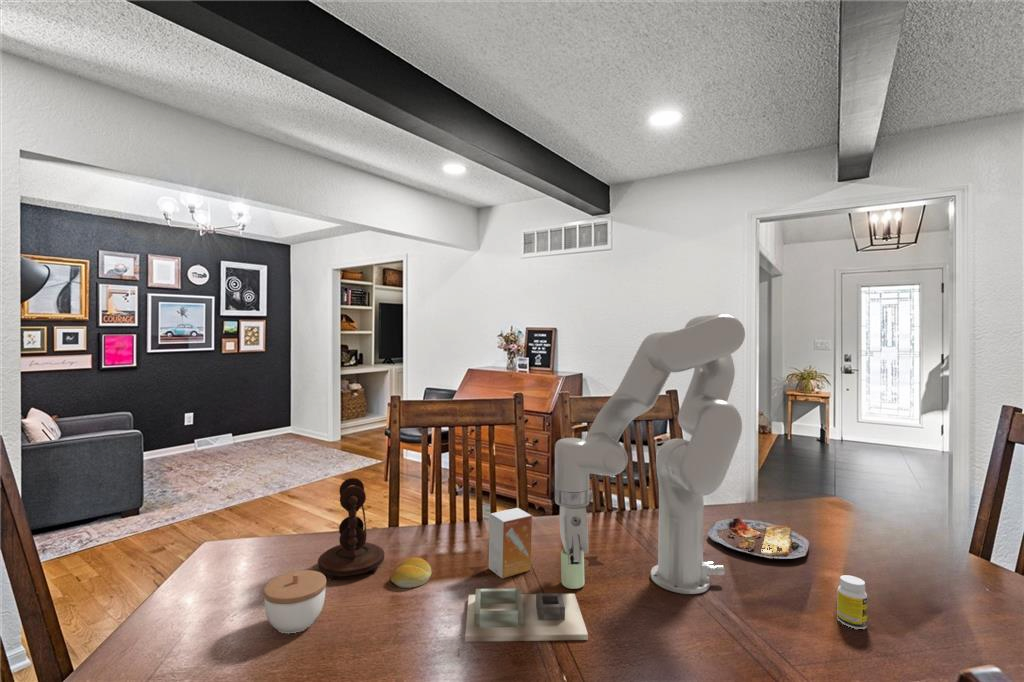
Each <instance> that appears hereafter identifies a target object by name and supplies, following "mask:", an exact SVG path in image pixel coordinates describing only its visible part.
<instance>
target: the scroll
mask: <svg viewBox="0 0 1024 682" xmlns="http://www.w3.org/2000/svg"><path fill="white" fill-rule="evenodd" d="M338 493H339V495H340V496H339V503H340V506H341V507H342V508H343V509H344V510H345V511H346V512H347V513H348V516H346V517H345V518H344V519H343V520H341V522H340V523H339V527H338V532H339V539H338V540H339V544H338V545H335V546H333V547H331V548H329V549H327V550H326V551H324V552H322V554H321V555H320V556H319V557H318V560H317V567H318V570H319V572H321V573H322V574H325V575H327V578H328V580H329V579H331V578H333V576H334V577H335V576H336V577H337V576H338V577H347V576H349V577H350V576H356V575H359V574H360V575H361V574H364V573H367V572H370V571H371V573H372V574H376V572H377V569H378V567H379V566H381V564H382V563H383V562H384V560H385V551H384V548H382V547H381V546H379V545H377V544H375V543H371V542H367V523H366V513H365V507H364V504H365V502H366V499H367V496H366V491H365V484H364V483H363V482H362V480H360V479H359V478H356V477H351V478H347V479H345V480H344V481H343V482H342V483H341V484H340V486H339V492H338ZM360 509H362V517H363V520H362V519H361V518H360V517H358V516H357V513H358V511H359V510H360ZM331 580H332V579H331Z"/></svg>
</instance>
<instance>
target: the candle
mask: <svg viewBox="0 0 1024 682" xmlns="http://www.w3.org/2000/svg"><path fill="white" fill-rule="evenodd" d="M571 556H573V553H571V554H569V565H568V554H567V552H566V551H565V549H564V548H563V549H562V550H561V551H560V570H561V571H560V572H561V573H560V575H561V585H562V586H564V587H565V588H567V589H572V590H574V589H576V590H577V589H581V588H582V587H583V586H585V584H586V583H585V557H584V556H585V553H583V550H582V548H581V565H579V563H578V564H572V565H571V560H570V557H571Z"/></svg>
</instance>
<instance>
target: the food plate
mask: <svg viewBox="0 0 1024 682" xmlns="http://www.w3.org/2000/svg"><path fill="white" fill-rule="evenodd" d="M725 528H726V529H727V530H728V529H730V530H729V531H728V532H729V533H730V535H733V536H739V537H744V538H743V539H742V541H740V542H739V543H738V542H737V544H736V546H740V547H742V548H745V549H748V550H752V549H753V550H754V549H755V547H756V546H755V541H754V540H752V539H749V538H747V537H756V536H759V535H765V536H764V541H763V542H762V544H763V545H762V548H765V549H761V554H760V553H755V552H752V551H753V550H752V551H751V552H748V551H746V550H745V551H744V550H742V549H740V548H736V547H735V546H733V545H731V544H729V543H728V542H727V543H726V542H725V541H726V540H725V541H724V540H723V539H722V538H719V536H717V535H718V534H717V532H721V530H722V529H725ZM752 528H756V529H762V530H764V531H766V533H765V534H764V533H763V532H762V533H760V532H758V531H756V530H753V529H752ZM722 533H723V532H722ZM707 535H708V537H709V538H710V540H712V541H714V542H716V543H719V544H722V545H723V546H725V547H727V548H730V549H732V550H735V551H738V552H742V553H746V554H749V555H751V556H758V557H764V558H767V559H773V558H774V559H773V560H775V559H776V560H782V559H783V560H784V559H785V560H787V559H797V558H801V557H805V556H806V555H807V553H808V551H809V550H808V549H809V546H810V541H809V540H808V539H807V538H805V537H804V536H803V535H801V534H799V533H797V532H796V531H795V530H792V528H791V526H790V525H787V524H786V525H779V524H778V525H777V524H773V523H769V522H766V521H763V520H757V519H750V518H749V519H748V518H747V519H746V518H740V517H736V518H728V519H721V520H719V521H715V522H714V523H713V525H711V527H710V528H709V530H708V531H707ZM721 535H722V534H721ZM730 535H729V536H730ZM791 539H792V540H791ZM791 542H793V543H792V544H791ZM768 545H770V546H768ZM754 546H755V547H754ZM789 546H791V547H789ZM769 547H770V548H772V549H770V550H769ZM777 547H779V548H782V551H780V552H779V551H777ZM767 548H768V550H767ZM789 548H792V549H793V551H792V553H789V550H790V549H789ZM762 550H763V551H762ZM772 551H773V552H772ZM762 554H763V555H762ZM767 555H769V556H767ZM772 556H774V557H772ZM778 558H779V559H778Z"/></svg>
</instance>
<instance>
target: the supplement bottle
mask: <svg viewBox="0 0 1024 682" xmlns="http://www.w3.org/2000/svg"><path fill="white" fill-rule="evenodd" d="M836 599H837V600H836V601H837V604H836V605H837V606H836V607H837V609H836V619H837V621H838V622H839V621H840V622H841V623H842V624H841V623H840V622H839V623H840V624H841V625H843V624H844V625H846V626H848V627H847V628H849V627H851V628H850V629H852V628H854V630H858V629H863V630H865V629H866V628H867V626H868V623H867V622H868V594H867V593H866V582H865V580H864V579H862V578H859V577H857V576H854V575H850V574H849V575H848V574H846V575H845V574H844V575H841V576H839V586H838V587H837V598H836ZM844 625H843V626H844ZM846 626H845V627H846Z"/></svg>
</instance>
